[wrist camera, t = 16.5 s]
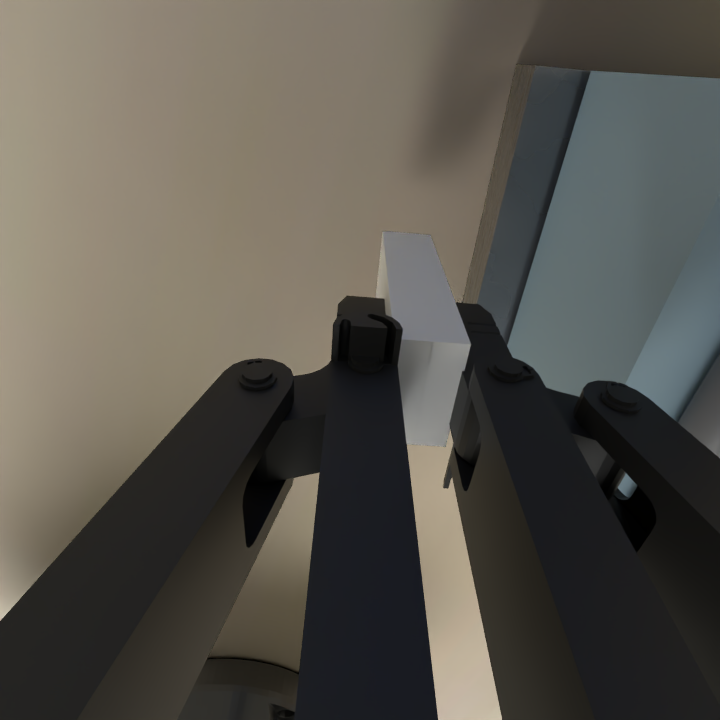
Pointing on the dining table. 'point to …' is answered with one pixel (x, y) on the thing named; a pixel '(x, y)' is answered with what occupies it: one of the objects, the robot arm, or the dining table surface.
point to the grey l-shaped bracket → (522, 186)
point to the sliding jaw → (634, 252)
